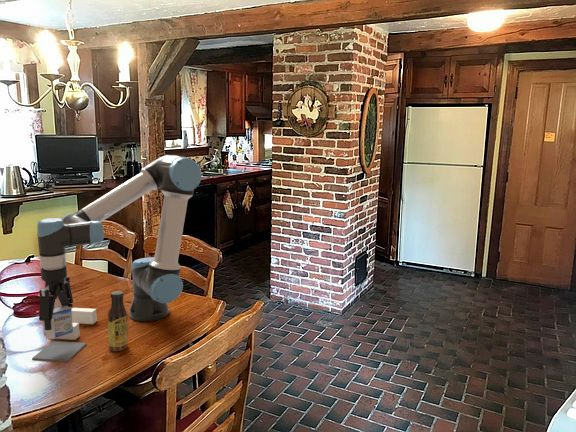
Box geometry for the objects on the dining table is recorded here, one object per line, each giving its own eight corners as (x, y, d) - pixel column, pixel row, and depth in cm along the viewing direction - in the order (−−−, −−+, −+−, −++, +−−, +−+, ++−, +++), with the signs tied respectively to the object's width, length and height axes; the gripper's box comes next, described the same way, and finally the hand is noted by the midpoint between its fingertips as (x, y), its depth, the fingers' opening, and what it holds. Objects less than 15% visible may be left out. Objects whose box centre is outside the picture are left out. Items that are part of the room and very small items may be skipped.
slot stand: (96, 321, 182) (96, 308, 181) (75, 339, 167) (74, 326, 166) (74, 319, 183) (73, 307, 182) (51, 338, 167) (49, 325, 166)
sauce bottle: (116, 354, 157) (113, 298, 153) (104, 349, 160) (101, 293, 156) (132, 346, 163) (130, 292, 159) (120, 341, 166) (117, 288, 162)
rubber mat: (86, 344, 163) (86, 343, 163) (68, 361, 151) (67, 360, 151) (53, 342, 164) (52, 341, 164) (32, 359, 152) (32, 358, 152)
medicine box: (48, 340, 152) (46, 315, 150) (43, 335, 155) (41, 311, 153) (73, 332, 158) (71, 308, 156) (67, 328, 161) (66, 304, 159)
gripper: (60, 256, 163) (65, 318, 167) (21, 276, 142) (28, 346, 146) (81, 257, 162) (85, 319, 167) (45, 277, 141) (51, 347, 146)
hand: (58, 331), depth 156 cm, fingers closed on medicine box, 9 cm apart
